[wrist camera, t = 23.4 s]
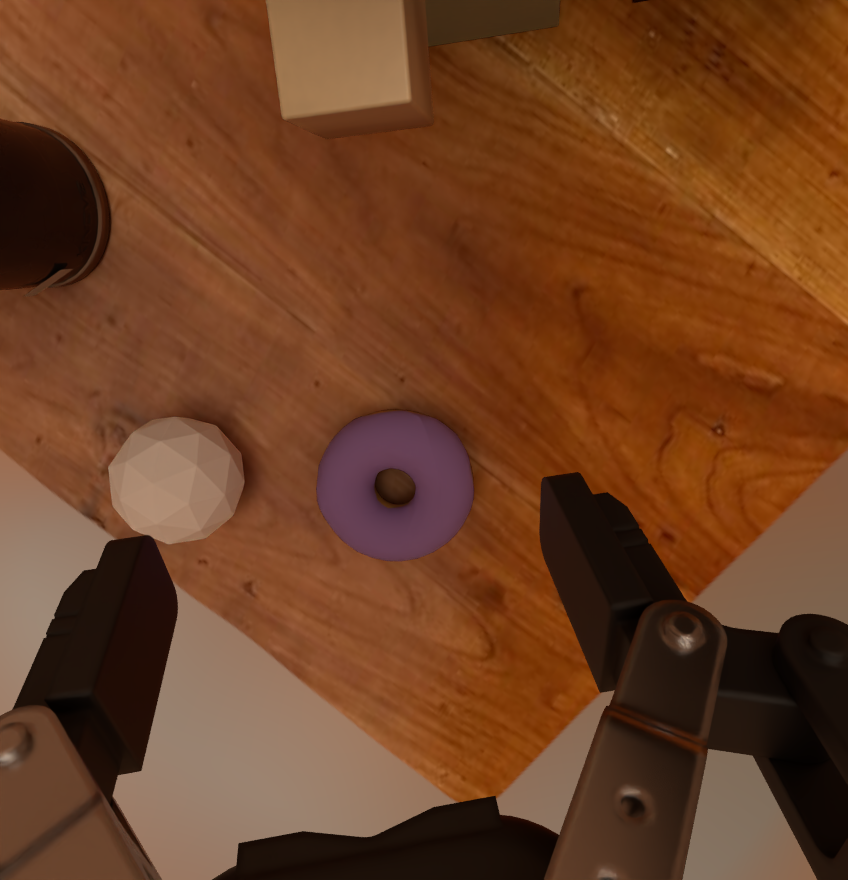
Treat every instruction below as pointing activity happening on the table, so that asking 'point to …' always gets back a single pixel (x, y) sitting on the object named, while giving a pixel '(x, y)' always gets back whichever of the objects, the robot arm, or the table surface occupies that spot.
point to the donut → (420, 456)
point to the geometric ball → (176, 479)
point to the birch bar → (352, 65)
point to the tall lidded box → (486, 18)
